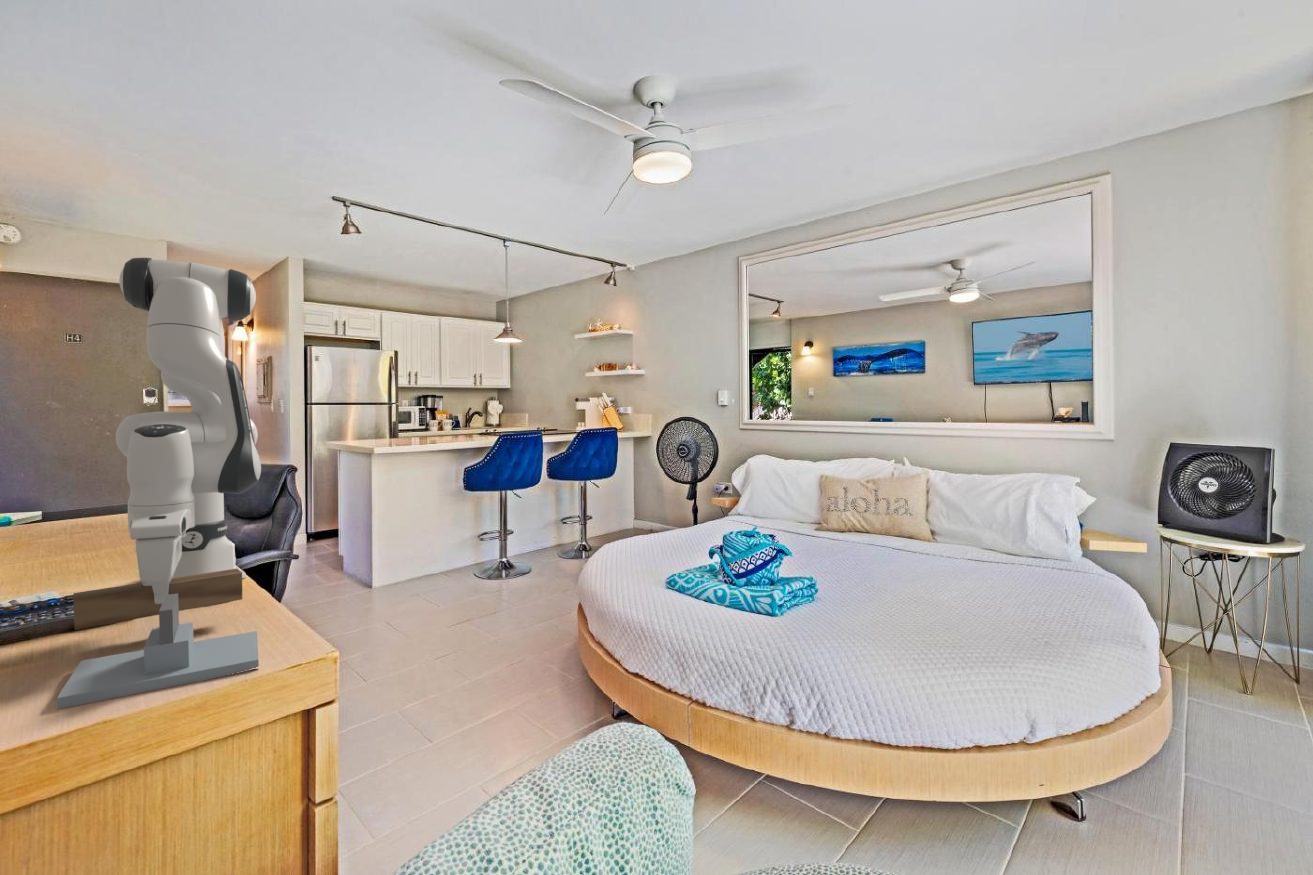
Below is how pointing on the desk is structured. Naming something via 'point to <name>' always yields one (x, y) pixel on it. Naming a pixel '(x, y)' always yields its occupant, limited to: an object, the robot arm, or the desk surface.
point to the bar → (140, 599)
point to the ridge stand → (160, 662)
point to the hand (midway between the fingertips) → (163, 597)
